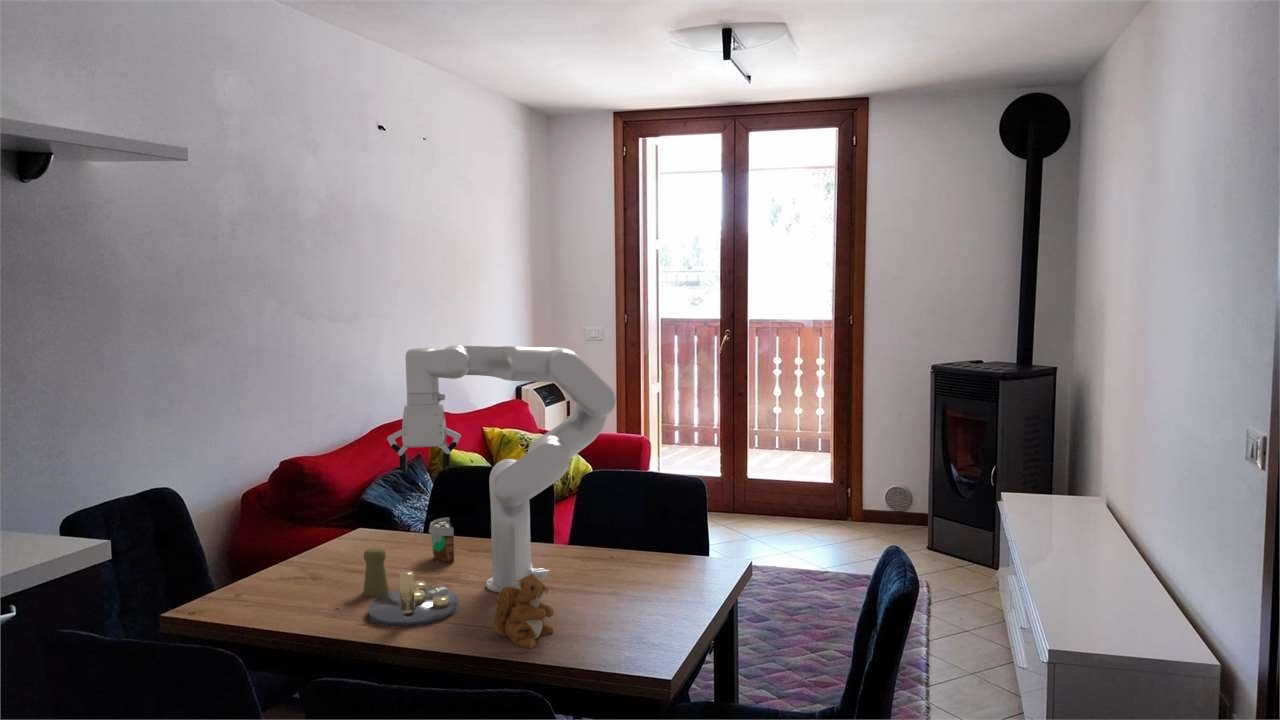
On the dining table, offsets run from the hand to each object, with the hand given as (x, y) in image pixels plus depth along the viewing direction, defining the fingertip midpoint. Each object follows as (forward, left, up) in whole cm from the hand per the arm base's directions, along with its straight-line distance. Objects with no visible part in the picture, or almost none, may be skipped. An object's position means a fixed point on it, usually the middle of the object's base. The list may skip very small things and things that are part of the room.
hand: (425, 470), depth 214 cm
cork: (+13, -2, -31) cm, 33 cm away
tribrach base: (+2, +12, -30) cm, 33 cm away
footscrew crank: (+2, +15, -28) cm, 32 cm away
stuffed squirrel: (-23, +31, -31) cm, 49 cm away
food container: (0, -27, -31) cm, 41 cm away
